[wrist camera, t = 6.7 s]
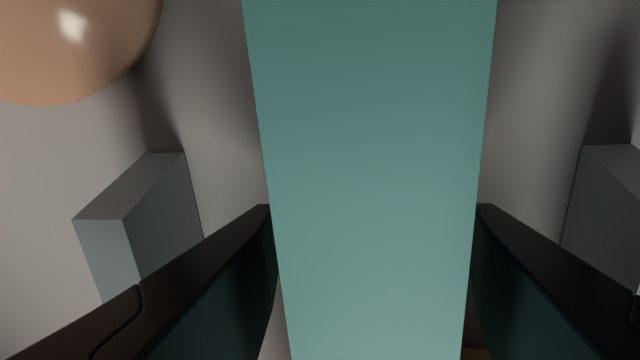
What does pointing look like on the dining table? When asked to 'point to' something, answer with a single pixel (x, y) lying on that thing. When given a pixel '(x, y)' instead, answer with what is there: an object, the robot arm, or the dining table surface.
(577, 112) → the dining table surface
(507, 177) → the dining table surface
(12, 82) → the tan disc
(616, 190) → the channel
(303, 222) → the rod
